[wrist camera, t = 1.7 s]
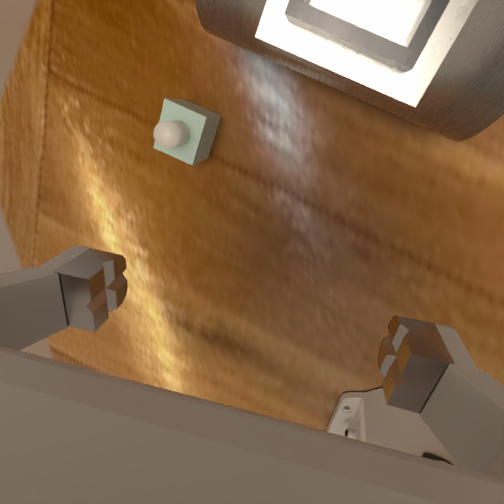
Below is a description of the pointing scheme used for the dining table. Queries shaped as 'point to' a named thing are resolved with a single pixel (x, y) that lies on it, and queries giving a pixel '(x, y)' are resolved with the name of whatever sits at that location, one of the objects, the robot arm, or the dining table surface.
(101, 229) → the dining table surface
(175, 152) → the block
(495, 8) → the motor
